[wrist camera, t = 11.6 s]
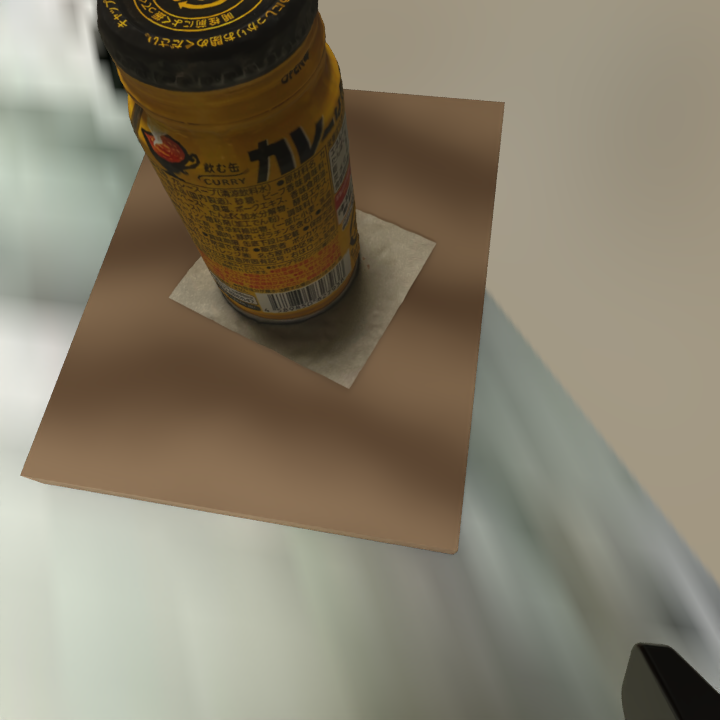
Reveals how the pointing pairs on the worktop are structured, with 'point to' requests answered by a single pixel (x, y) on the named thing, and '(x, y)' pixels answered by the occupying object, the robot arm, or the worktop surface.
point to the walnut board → (283, 376)
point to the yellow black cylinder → (262, 174)
